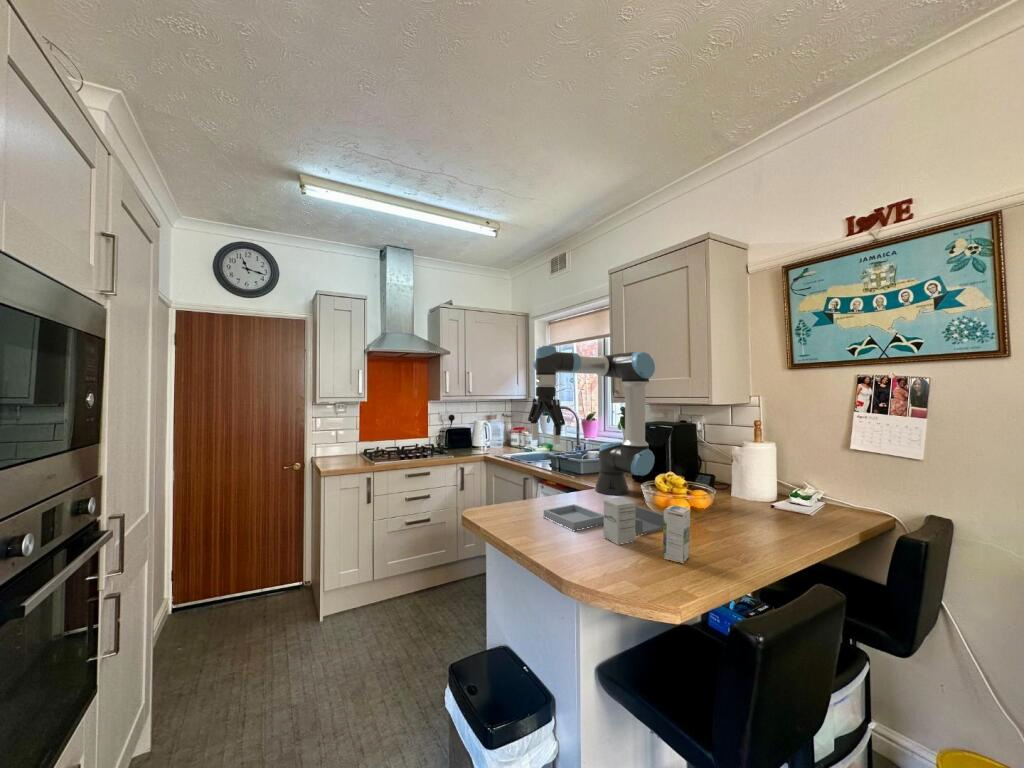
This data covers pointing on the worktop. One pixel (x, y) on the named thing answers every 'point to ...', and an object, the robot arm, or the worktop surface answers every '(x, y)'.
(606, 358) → the robot arm
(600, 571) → the worktop surface
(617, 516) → the supplement box
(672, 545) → the syrup box
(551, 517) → the tray
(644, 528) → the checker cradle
